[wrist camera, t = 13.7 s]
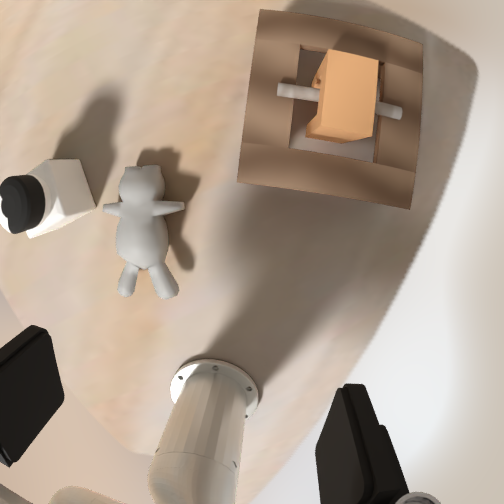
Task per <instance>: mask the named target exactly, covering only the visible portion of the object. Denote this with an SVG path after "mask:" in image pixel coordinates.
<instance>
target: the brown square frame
mask: <svg viewBox="0 0 504 504" xmlns="http://www.w3.org/2000/svg"><path fill="white" fill-rule="evenodd" d="M300 49H304V50H310V51H316V52H322V53H327V51H328V49H332V50H337V51H341V52H346V53H351V54H355V55H359V56H363V57H367V58H371V59H375V60H378V76H377V78H379V79H381V81H380V97H379V101H376V102H375V113H374V114H378V121H377V132H376V141H375V150H374V158H373V163H371V162H366V161H361V160H356V159H351V158H346V157H340V156H335V155H329V154H323V153H317V152H311V151H305V150H298V149H291V148H288V146H289V138H290V130H291V121H292V113H293V105H294V98H296V99H303V100H309V101H315V102H319V93H320V89H318V88H312V87H306V86H299V85H296V78H297V69H298V60H299V51H300ZM422 86H423V44H421V43H418V42H415V41H412V40H409V39H406V38H403V37H400V36H397V35H394V34H391V33H387V32H384V31H380V30H377V29H373V28H369V27H365V26H361V25H357V24H353V23H349V22H344V21H340V20H335V19H330V18H324V17H319V16H313V15H306V14H299V13H292V12H284V11H275V10H264V9H260V11H259V18H258V25H257V32H256V38H255V45H254V52H253V59H252V67H251V74H250V81H249V89H248V96H247V104H246V111H245V119H244V127H243V135H242V143H241V151H240V159H239V168H238V176H237V182H239V183H247V184H256V185H264V186H271V187H279V188H286V189H293V190H300V191H307V192H314V193H320V194H326V195H333V196H339V197H345V198H351V199H356V200H362V201H368V202H373V203H378V204H384V205H389V206H394V207H399V208H404V209H409V210H410V207H411V201H412V194H413V188H414V181H415V173H416V166H417V157H418V148H419V137H420V125H421V110H422Z"/></svg>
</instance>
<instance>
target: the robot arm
mask: <svg viewBox="0 0 504 504" xmlns="http://www.w3.org/2000/svg"><path fill="white" fill-rule="evenodd" d="M171 396H172V399H173V401H174V403H175V404H174V407H173V409H172V412H171V414H170V417H169V419H168V422H167V424H166V427H165V430H164V432H163V435H162V437H161V440H160V442H159V445H158V447H157V450H156V452H155V455H154V458H153V460H152V463H151V465H150V469H149V471H148V477H147V482H148V489H149V492H150V495H151V497H152V499H153V501H154V503H155V504H235V500H236V492H237V483H238V475H239V467H240V459H241V450H242V442H243V433H244V424H245V421H246V420H248V419H249V418H250V417H251V416H252V415H253V414H254V412H255V411H256V409H257V405H258V398H259V397H258V390H257V387H256V384H255V383H254V381H253V380H252V378H251V377H250V376H249V375H248V374H247V373H246V372H244V371H243V370H242V369H240V368H239V367H237V366H235V365H233V364H230V363H227V362H225V361H220V360H215V359H202V360H196V361H192V362H189V363H187V364H186V365H184V366H182V367H181V368H180V369H179V370H178V371H177V372H176V374H175V375H174V378H173V380H172V382H171ZM63 401H64V391H63V388H62V384H61V380H60V376H59V372H58V367H57V363H56V358H55V354H54V349H53V344H52V339H51V336H50V335H49V334H48V331H47V330H46V329H44V328H41V327H38V326H35V325H31V326H29V327H28V328H26V329H25V330H24V331H22V332H21V333H20V334H19V335H17V336H16V337H15V338H13V339H12V340H11V341H9V342H8V343H7V344H5V345H4V346H3V347H2V348H0V462H1V463H3V464H4V465H6V466H8V467H10V466H11V465H12V464H13V462H17V461H18V460H19V459H20V457H21V456H22V455H23V453H24V452H25V451H26V449H27V448H28V447H29V445H30V444H31V443H32V441H33V440H34V439H35V438H36V436H37V435H38V434H39V432H40V431H41V430H42V429H43V427H44V426H45V425H46V424H47V422H48V421H49V420H50V418H51V417H52V416H53V414H54V413H55V412H56V411H57V410H58V408H59V407H60V406H61V405H62V403H63ZM315 451H316V452H315V456H316V465H317V474H318V483H319V491H320V502H321V504H441V503H440V502H439V501H438V500H437V499H436V498H435V497H433V496H432V495H430V494H427V493H423V492H413V493H409V490H408V487H407V484H406V481H405V478H404V475H403V472H402V470H401V467H400V464H399V461H398V458H397V456H396V453H395V450H394V447H393V445H392V442H391V439H390V436H389V434H388V431H387V429H386V427H385V426H384V425H379V422H378V420H377V417H376V414H375V411H374V409H373V406H372V403H371V401H370V398H369V395H368V393H367V390H366V387H365V386H364V385H363V384H345V385H344V386H343V388H338V389H337V391H336V394H335V397H334V399H333V402H332V405H331V408H330V411H329V413H328V416H327V419H326V422H325V424H324V427H323V429H322V432H321V435H320V437H319V440H318V442H317V445H316V450H315ZM0 504H33V503H31V502H29V501H27V500H25V499H24V498H22V497H20V496H19V495H17V494H16V493H14V492H13V491H11V490H9V489H8V488H6V487H5V486H3V485H2V484H0ZM49 504H125V503H123V502H120V501H117V500H115V499H112V498H110V497H107V496H104V495H101V494H99V493H97V492H94V491H92V490H89V489H86V488H82V487H78V486H68V487H64V488H62V489H60V490H59V491H57V492H56V493H55V494H54V495H53V497H52V498H51V500H50V502H49Z"/></svg>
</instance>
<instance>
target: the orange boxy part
mask: <svg viewBox="0 0 504 504" xmlns="http://www.w3.org/2000/svg"><path fill="white" fill-rule="evenodd" d="M377 76H378V60H375V59H371V58H367V57H363V56H359V55H355V54H351V53H346V52H341V51H337V50H332V49H328V51H327V53H326V55H325V57H324V59H323V61H322V63H321V65H320V67H319V69H318V71H317V73H316V75H315V77H314V79H313V81H312V85H311V87H312V88H318V89H320V93H319V102H318V111H317V115H316V116H315V117H314V118H313V119H312V120H311V121H310V122H309V123H308V124H307V128H306V136H305V137H307V138H313V139H319V140H325V141H330V142H336V143H341V144H342V143H346V142H350V141H354V140H358V139H362V138H367V137H371V136H372V132H373V123H374V113H375V102H376V90H377Z"/></svg>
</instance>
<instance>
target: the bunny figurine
mask: <svg viewBox="0 0 504 504" xmlns="http://www.w3.org/2000/svg"><path fill="white" fill-rule="evenodd" d="M164 194H165V181H164V178H163V175H162V173H161V166H158V165H146V166H143V167H139V166H133V167H125V173H124V175H123V177H122V178H121V181H120V184H119V195H120V197H121V199H122V201H123V202H117V203H110V204H104V205H103V212H105V213H109V214H112V215H115V216H118V217H121V218H120V221H119V224H118V226H117V232H116V249H117V254H118V255H119V256H121V257H122V258H123V259H124V260H126V261H127V262H126V265H125V267H124V269H123V272H122V274H121V277H120V279H119V282H118V289H117V290H118V292H119V294H120V295H122V296H124V297H128V296H131V295H132V294H133V292H134V289H135V285H136V280H137V275H138V271H139V268H140V269H144V270H145V269H148V271H149V274H150V277H151V280H152V283H153V286H154V289H155V291H156V293H157V295H158V296H159V297H160V298H162V299H169V298H172V297H174V296H177V294H178V292H179V287H178V284H177V282H176V281H175V279H174V277H173V276H172V274H171V272H170V271H169V269H168V267H167V265H166V264H165V258H166V255H167V252H168V246H169V237H168V229H167V224H166V222H165V219H164V217H163V216H164V215H168V214H171V213H174V212H177V211H180V210H184V209H185V207H184V202H175V201H162V198H163V196H164Z"/></svg>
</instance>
